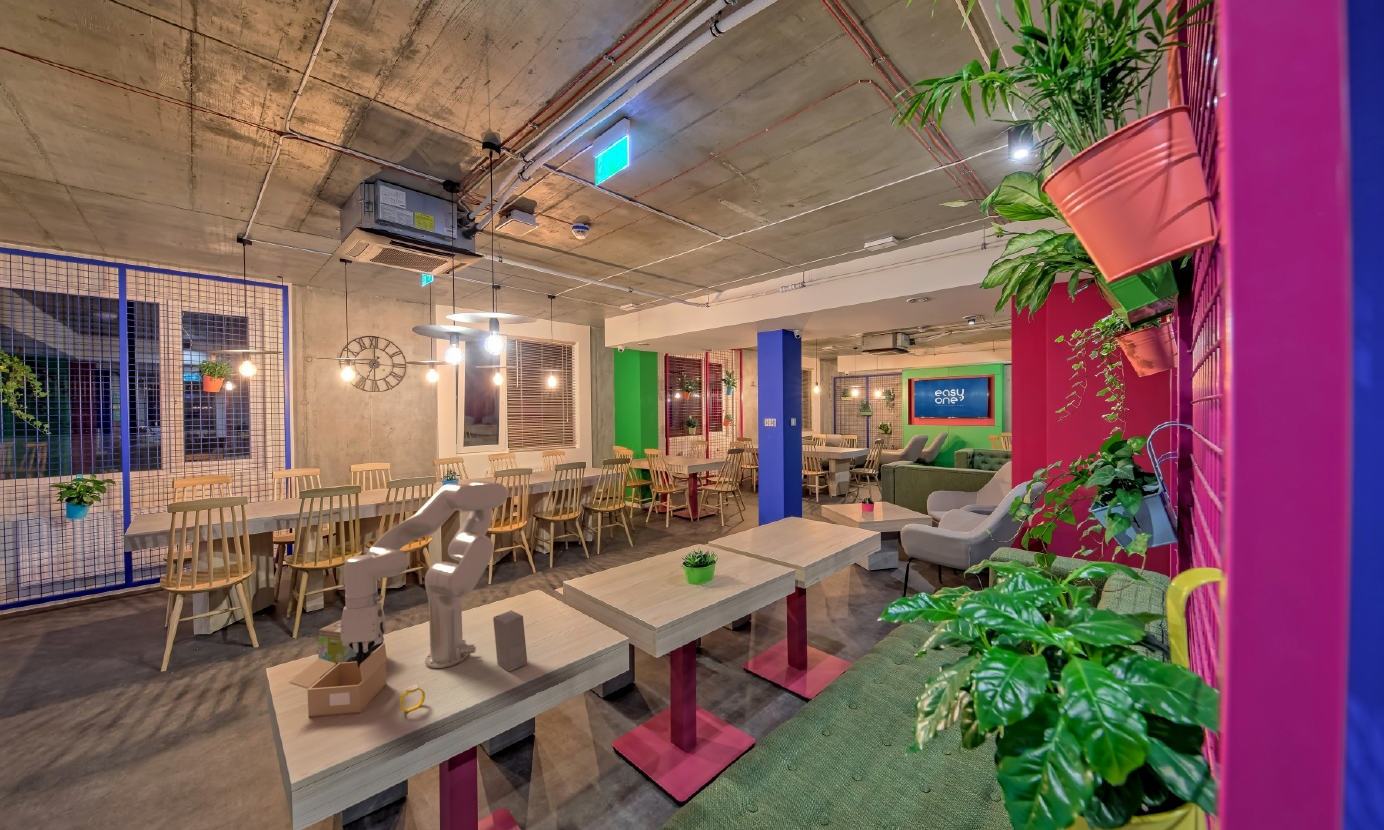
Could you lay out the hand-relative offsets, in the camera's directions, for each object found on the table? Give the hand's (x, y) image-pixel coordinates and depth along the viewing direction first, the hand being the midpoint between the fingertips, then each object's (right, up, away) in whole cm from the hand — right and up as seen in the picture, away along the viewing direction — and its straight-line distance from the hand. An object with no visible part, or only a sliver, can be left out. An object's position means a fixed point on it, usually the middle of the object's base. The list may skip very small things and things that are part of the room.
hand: (363, 664), depth 140 cm
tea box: (-16, -10, +19) cm, 27 cm away
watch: (+17, -10, -5) cm, 20 cm away
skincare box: (+35, -9, +17) cm, 40 cm away
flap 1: (-13, -1, -1) cm, 13 cm away
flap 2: (+2, 0, 0) cm, 2 cm away
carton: (-4, -10, 0) cm, 11 cm away
